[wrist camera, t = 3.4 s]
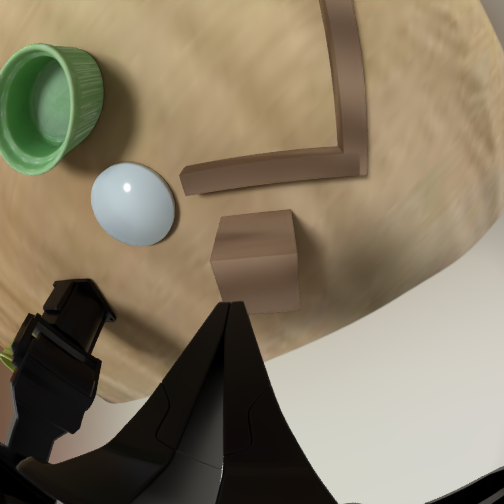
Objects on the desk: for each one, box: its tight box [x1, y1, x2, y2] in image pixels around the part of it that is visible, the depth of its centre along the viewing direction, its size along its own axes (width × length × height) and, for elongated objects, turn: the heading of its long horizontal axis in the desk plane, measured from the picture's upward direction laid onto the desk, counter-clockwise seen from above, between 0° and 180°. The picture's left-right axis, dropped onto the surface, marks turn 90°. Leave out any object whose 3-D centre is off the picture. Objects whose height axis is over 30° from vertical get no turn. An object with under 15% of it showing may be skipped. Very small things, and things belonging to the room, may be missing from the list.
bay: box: [179, 0, 367, 196], centre depth 12 cm, size 17×12×2 cm
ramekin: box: [0, 43, 104, 176], centre depth 12 cm, size 9×9×4 cm
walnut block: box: [210, 209, 300, 315], centre depth 19 cm, size 5×5×5 cm
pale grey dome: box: [91, 162, 175, 246], centre depth 19 cm, size 7×7×1 cm
